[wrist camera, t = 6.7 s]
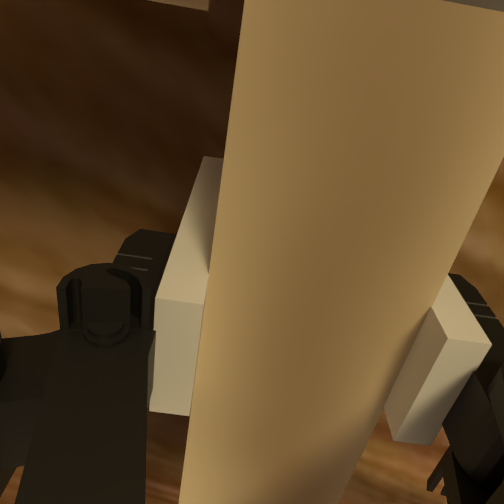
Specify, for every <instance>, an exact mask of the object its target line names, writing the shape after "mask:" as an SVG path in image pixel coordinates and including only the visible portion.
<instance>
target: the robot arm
mask: <svg viewBox="0 0 504 504" xmlns="http://www.w3.org/2000/svg"><path fill="white" fill-rule="evenodd" d="M223 161H224V159H221V158H215V157H209V156H204V157H203V160H202V163H201V165H200V168H199V171H198V174H197V177H196V180H195V183H194V186H193V189H192V192H191V195H190V198H189V201H188V204H187V206H186V209H185V212H184V215H183V218H182V221H181V224H180V227H179V230H178V233H177V234H171V233H164V232H157V231H150V230H144V229H140V230H138V231H137V232H135V233H134V234H132V235H131V236H129V237H128V238H126V239H125V240H124V242H123V244H122V246H121V248H120V250H119V252H118V255H116V257H115V259H114V261H113V263H101V264H91V265H88V266H84V267H81V268H78V269H75V270H74V271H72V272H70V273H69V274H67V275H66V276H64V277H63V278H62V280H61V281H60V283H59V284H58V286H57V287H56V290H57V300H58V311H59V321H60V330H57V331H54V332H51V333H46V334H41V335H34V336H24V337H14V338H4V339H2V338H1V333H0V497H1V495H2V493H3V491H4V489H5V488H6V486H7V484H8V482H9V480H10V479H11V477H12V475H13V473H14V471H15V469H16V468H17V467H19V466H24V465H25V466H24V470H23V474H22V478H21V482H20V485H19V489H18V493H17V497H16V501H15V504H145V478H146V435H147V408H148V405H149V401H150V406H149V411H152V412H160V413H168V414H176V415H185V416H189V415H190V409H191V403H192V397H193V391H194V385H195V378H196V371H197V363H198V356H199V348H200V340H201V333H202V325H203V317H204V310H205V302H206V294H207V287H208V279H209V268H210V260H211V253H212V245H213V238H214V230H215V222H216V215H217V207H218V199H219V192H220V184H221V176H222V169H223ZM495 317H496V316H495V315H494V313H493V312H492V310H491V309H490V307H487V303H486V302H485V300H484V299H483V297H482V296H481V294H480V293H479V292H478V290H477V289H476V288H475V287H474V286H473V285H471V284H470V283H469V282H468V281H466V280H465V279H464V278H463V277H462V276H460V275H458V274H451V273H448V274H447V277H446V279H445V281H444V283H443V285H442V287H441V289H440V291H439V293H438V295H437V298H436V300H435V302H434V304H433V306H431V307H430V309H429V311H428V313H427V316H426V318H425V320H424V322H423V324H422V326H421V328H420V330H419V332H418V335H417V337H416V339H415V341H414V343H413V345H412V347H411V349H410V351H409V354H408V356H407V358H406V360H405V362H404V364H403V366H402V368H401V370H400V373H399V375H398V377H397V379H396V381H395V383H394V385H393V387H392V389H391V392H390V394H389V396H388V398H387V400H386V402H385V404H384V410H385V413H386V417H387V420H388V424H389V427H390V431H391V434H392V438H393V441H398V442H407V443H415V444H423V445H431V444H432V442H433V441H434V439H435V437H436V436H437V434H438V432H439V431H440V429H441V428H442V426H443V428H444V430H445V433H446V435H447V438H448V440H449V443H450V446H449V448H448V449H447V451H446V452H445V454H444V455H443V457H442V458H441V460H440V461H439V463H438V465H437V466H436V468H435V469H434V471H433V472H432V474H431V475H430V477H429V478H428V481H427V491H431V492H433V490H434V489H435V487H436V486H437V485H438V483H439V482H440V480H441V479H442V477H443V479H444V485H445V486H444V487H443V489H442V491H441V495H444V496H446V497H447V503H448V504H504V328H503V326H502V325H501V323H500V322H499V320H498V319H495Z"/></svg>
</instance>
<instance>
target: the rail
mask: <svg viewBox="0 0 504 504" xmlns="http://www.w3.org/2000/svg"><path fill="white" fill-rule="evenodd" d="M503 157H504V0H245V1H244V9H243V16H242V24H241V31H240V39H239V47H238V54H237V62H236V70H235V77H234V85H233V92H232V100H231V108H230V115H229V123H228V131H227V138H226V146H225V154H224V161H223V169H222V176H221V184H220V192H219V199H218V207H217V215H216V222H215V230H214V238H213V245H212V253H211V260H210V268H209V279H208V287H207V294H206V302H205V310H204V317H203V325H202V333H201V340H200V348H199V356H198V363H197V371H196V378H195V385H194V391H193V398H192V405H191V413H190V421H189V428H188V436H187V444H186V451H185V459H184V467H183V474H182V482H181V489H180V497H179V504H338V503H339V501H340V499H341V497H342V495H343V493H344V491H345V489H346V486H347V484H348V482H349V480H350V478H351V476H352V474H353V472H354V470H355V468H356V465H357V463H358V461H359V459H360V457H361V455H362V453H363V451H364V449H365V447H366V444H367V442H368V440H369V438H370V436H371V434H372V432H373V430H374V428H375V426H376V423H377V421H378V419H379V417H380V415H381V413H382V411H383V409H384V404H385V402H386V400H387V398H388V396H389V394H390V392H391V389H392V387H393V385H394V383H395V381H396V379H397V377H398V375H399V373H400V370H401V368H402V366H403V364H404V362H405V360H406V358H407V356H408V354H409V351H410V349H411V347H412V345H413V343H414V341H415V339H416V337H417V335H418V332H419V330H420V328H421V326H422V324H423V322H424V320H425V318H426V316H427V313H428V311H429V309H430V307H431V306H433V304H434V302H435V300H436V298H437V295H438V293H439V291H440V289H441V287H442V285H443V283H444V281H445V279H446V277H447V274H448V272H449V270H450V268H451V266H452V264H453V262H454V260H455V258H456V256H457V253H458V251H459V249H460V247H461V245H462V243H463V241H464V239H465V237H466V235H467V232H468V230H469V228H470V226H471V224H472V222H473V220H474V218H475V216H476V214H477V211H478V209H479V207H480V205H481V203H482V201H483V199H484V197H485V195H486V193H487V190H488V188H489V186H490V184H491V182H492V180H493V178H494V176H495V174H496V172H497V169H498V167H499V165H500V163H501V161H502V159H503Z"/></svg>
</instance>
